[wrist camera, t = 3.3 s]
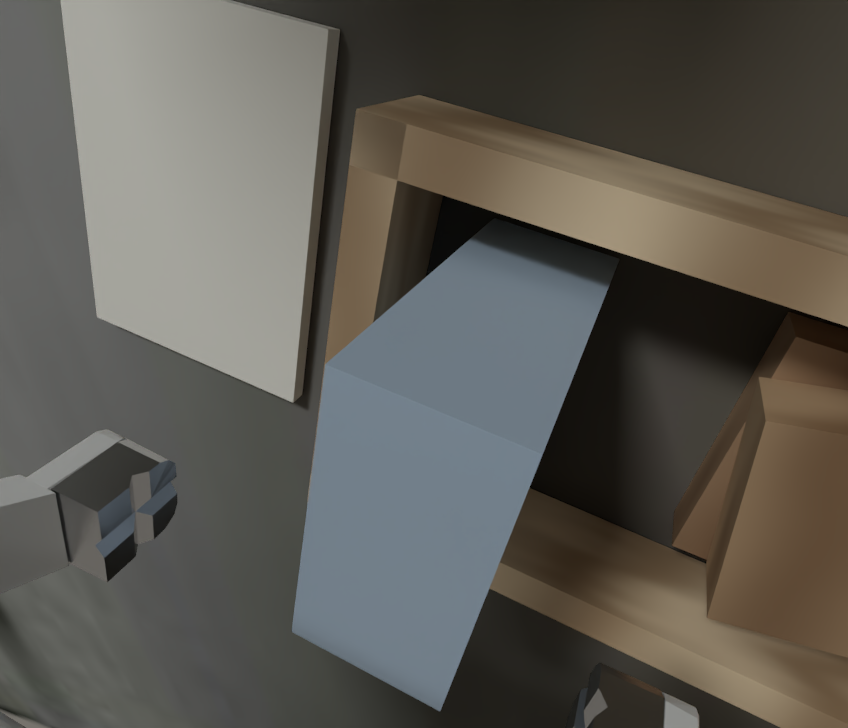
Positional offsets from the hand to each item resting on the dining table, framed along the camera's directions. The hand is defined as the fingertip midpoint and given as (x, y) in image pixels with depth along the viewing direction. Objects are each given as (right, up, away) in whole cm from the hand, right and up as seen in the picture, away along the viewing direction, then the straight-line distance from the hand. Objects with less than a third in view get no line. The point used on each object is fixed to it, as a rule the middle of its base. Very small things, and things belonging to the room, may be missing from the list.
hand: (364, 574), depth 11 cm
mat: (-6, +9, +9) cm, 15 cm away
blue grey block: (+4, +4, +7) cm, 9 cm away
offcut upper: (+11, 0, +4) cm, 12 cm away
